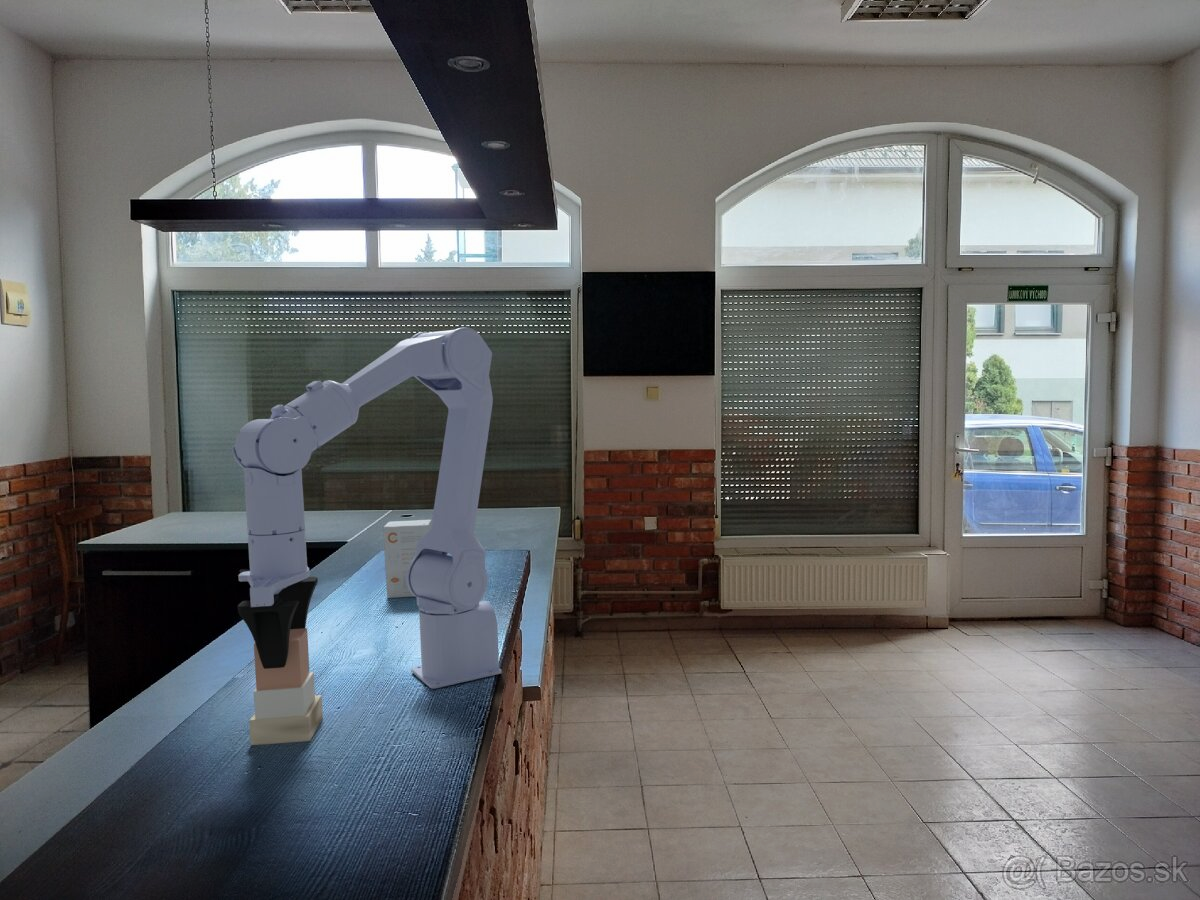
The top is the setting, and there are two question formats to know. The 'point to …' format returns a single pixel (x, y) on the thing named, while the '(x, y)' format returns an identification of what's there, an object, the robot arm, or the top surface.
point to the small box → (401, 553)
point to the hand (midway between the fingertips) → (284, 655)
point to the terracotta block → (293, 669)
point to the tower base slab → (287, 726)
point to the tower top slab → (285, 700)
